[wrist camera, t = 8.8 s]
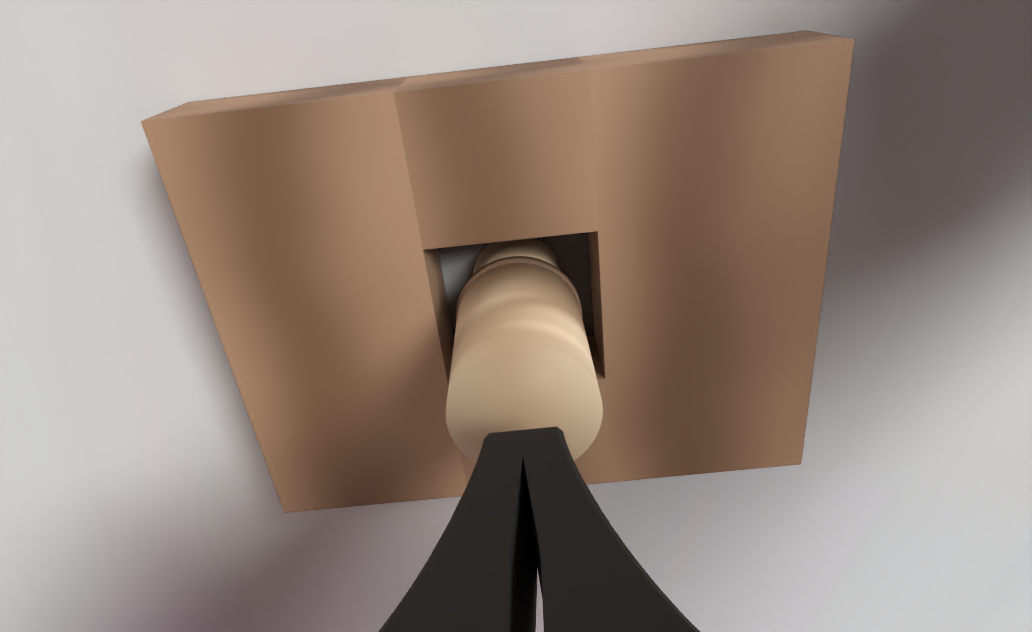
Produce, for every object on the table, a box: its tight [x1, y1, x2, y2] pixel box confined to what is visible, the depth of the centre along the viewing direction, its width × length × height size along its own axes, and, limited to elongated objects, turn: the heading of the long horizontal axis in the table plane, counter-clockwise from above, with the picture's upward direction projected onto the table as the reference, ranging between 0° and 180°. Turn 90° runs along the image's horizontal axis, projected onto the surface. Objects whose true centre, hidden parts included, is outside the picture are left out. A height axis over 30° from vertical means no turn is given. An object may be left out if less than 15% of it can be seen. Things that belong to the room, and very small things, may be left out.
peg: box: [446, 238, 603, 463], centre depth 16 cm, size 3×3×7 cm
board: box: [141, 31, 855, 513], centre depth 18 cm, size 16×12×2 cm
